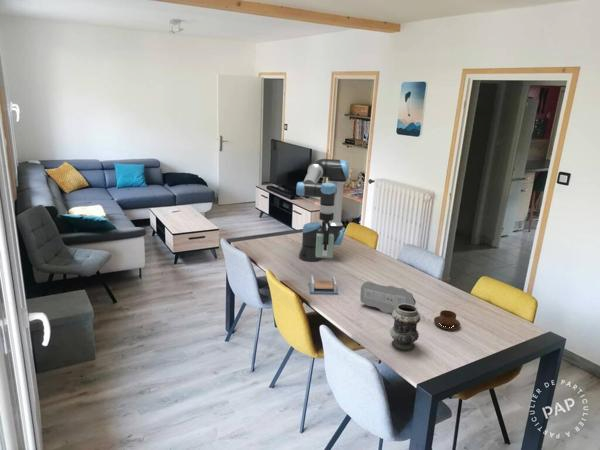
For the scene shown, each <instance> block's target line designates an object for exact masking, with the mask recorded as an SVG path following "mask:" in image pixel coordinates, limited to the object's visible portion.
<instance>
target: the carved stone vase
mask: <svg viewBox="0 0 600 450" xmlns="http://www.w3.org/2000/svg"><path fill="white" fill-rule="evenodd" d="M391 315H392V318H393V320H394V321H393V326H392V327H391V328H390V330H389V331H390V332H389V334H390V337H391V338H392V339H393V340H391V346H392V347H393V348H394V349H395V350H398V351H402V352H411V351H413V350H414V349H415V348H416V347H415V346H416V345H415V343H414V342H416V341H417V340H418V339H419V335H420V334H419V331H418V330H417V328H418V327H417V326H418V324H419V322H421V319H422V318H421V314H420V313H419V312H418V308H417V306H416V305H415V306H413V305H411V304H399V305H398V306H397V309H395V310H394V311H393V313H391Z"/></svg>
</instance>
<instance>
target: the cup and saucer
mask: <svg viewBox="0 0 600 450" xmlns="http://www.w3.org/2000/svg"><path fill="white" fill-rule="evenodd" d="M433 321H434V324H436V326H437V327H439V328H441V329H444V330H457V329H458V328H460V327H461V322H460V321H459V320H457V314H456V313H455V312H454V311H451V310H447V309H446V310H445V309H444V310H440V312H439V315H437V316H436V317H434V319H433ZM439 323H440V324H441V325H442V326H441V325H440V324H439ZM453 325H454V327H452V326H453ZM443 326H444V327H443ZM445 326H446V327H445ZM449 327H450V328H449ZM451 327H452V328H451Z"/></svg>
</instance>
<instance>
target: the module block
mask: <svg viewBox="0 0 600 450" xmlns="http://www.w3.org/2000/svg"><path fill="white" fill-rule="evenodd" d="M323 235H324V234H319V233H317V236H316V257H321V258H322V259H323V258H326V259H328V258H329V259H333V257H334V256H333V255H334V246H335V245H334V235H333V234H329V241H328V243H329V244H328V251H327V256H322V248H323V244H322V243H323Z"/></svg>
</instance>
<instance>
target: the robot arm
mask: <svg viewBox="0 0 600 450" xmlns="http://www.w3.org/2000/svg"><path fill="white" fill-rule="evenodd" d="M349 169H350V166H349V161H347V160H343V159H336V158H335V159H333V158H332V159H330V158H321V159H317V160H315V161H313V162H312V163H310V164H309V166H308V168H307V173H306V175H305V178H304V180H303V181H298V182H297V183H296V187H295V188H296V191H295V193H296V195H297V196H301V197H310V198H311V197H313V198H320V201H319V202H320V203H319V205H318V208H319V217H318V219H319V220H320V221H322V222H318V221H312V222H311V221H310V222H307V223H305V224H303V227H302V239H301V240H302V242H301V248H300V251H299V252H298V258H299V259H300V260H302V261H305V262H319V261H322V259H323V258H321V257H316V236H317V233H319V234H324V235H323V243H322V244H323V248H322V256H327V251H328V244H329V243H328V241H329V234H333V235H334V245H333V246H341V245H342V243H343V240H344V235H345V230H346V228H345V227H344V225H343V223H342V210H343V209H342V208H343V199H344V198H343V197H344V186H345V184H346V183H347V180H349V179H350V170H349ZM320 178H326V179H327V182H323V183H318V182H319V179H320Z"/></svg>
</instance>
